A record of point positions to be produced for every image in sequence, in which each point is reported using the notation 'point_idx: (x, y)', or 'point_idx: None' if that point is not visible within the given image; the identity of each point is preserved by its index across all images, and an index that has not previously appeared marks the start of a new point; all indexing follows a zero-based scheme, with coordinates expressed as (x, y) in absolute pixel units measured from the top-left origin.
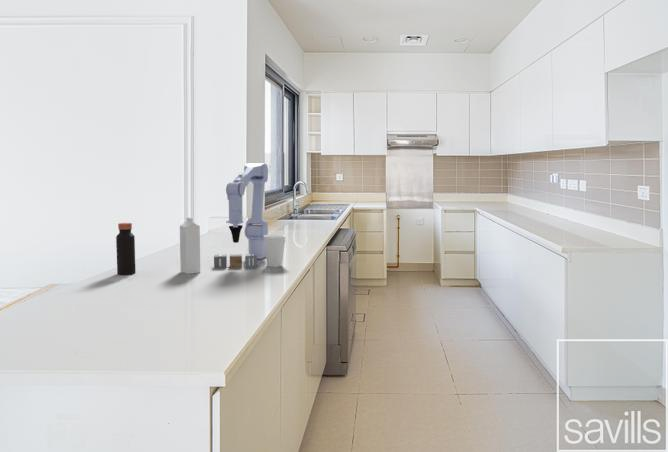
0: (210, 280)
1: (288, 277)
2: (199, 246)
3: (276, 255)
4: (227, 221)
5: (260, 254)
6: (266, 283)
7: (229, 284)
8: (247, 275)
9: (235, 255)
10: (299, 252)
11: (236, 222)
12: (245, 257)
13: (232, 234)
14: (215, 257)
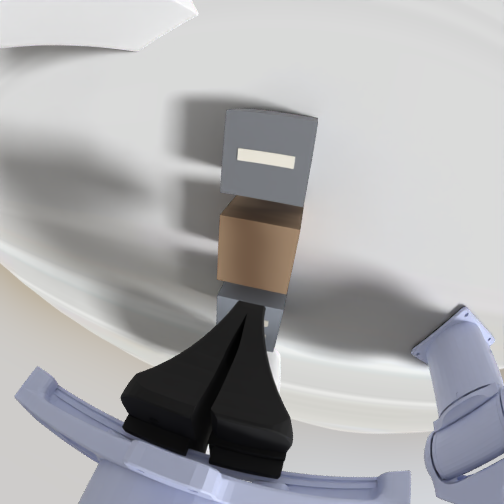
0: (32, 120)
1: (84, 319)
2: (35, 43)
3: None
4: (123, 460)
5: (428, 363)
6: (29, 257)
7: (9, 176)
8: (86, 235)
9: (250, 254)
10: None
11: (72, 441)
12: (219, 291)
13: (195, 346)
14: (227, 119)
